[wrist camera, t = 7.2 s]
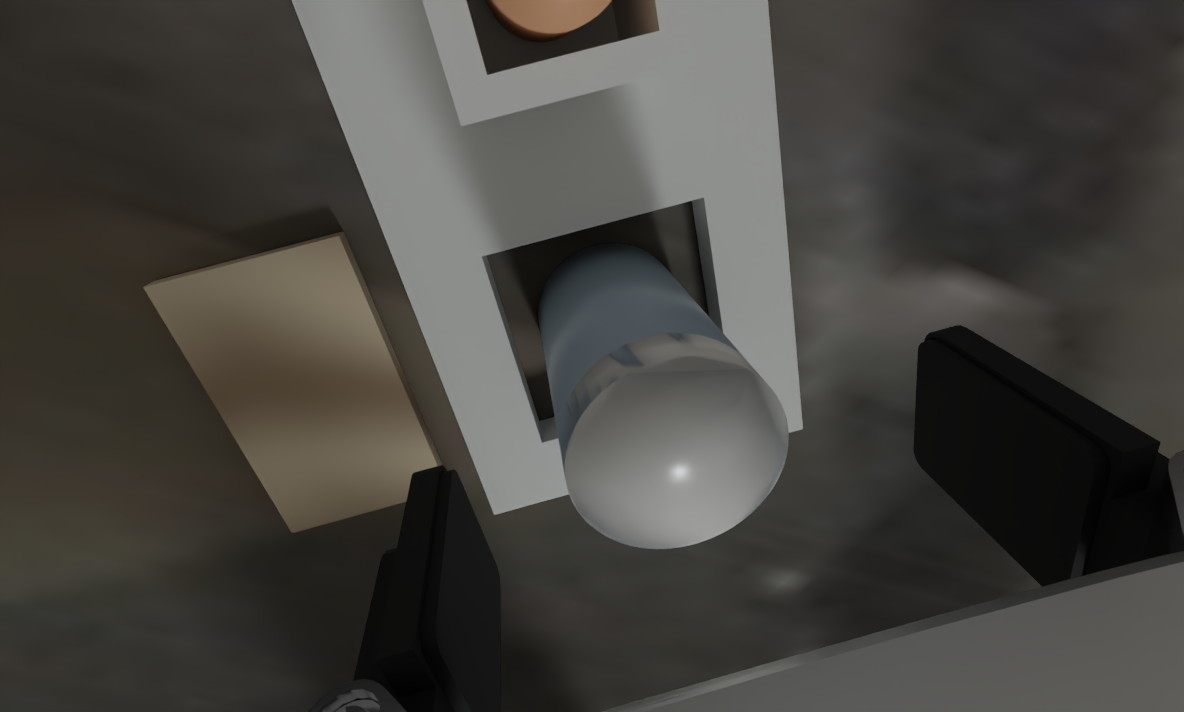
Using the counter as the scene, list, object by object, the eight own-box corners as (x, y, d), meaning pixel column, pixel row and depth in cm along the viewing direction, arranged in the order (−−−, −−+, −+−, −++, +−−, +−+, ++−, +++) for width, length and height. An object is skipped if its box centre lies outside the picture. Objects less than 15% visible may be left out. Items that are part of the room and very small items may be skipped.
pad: (449, 480, 23) (448, 489, 23) (296, 522, 23) (291, 533, 22) (343, 230, 19) (338, 235, 18) (153, 281, 18) (143, 287, 18)
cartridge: (687, 355, 22) (796, 515, 14) (558, 391, 22) (593, 572, 14) (665, 225, 20) (778, 328, 12) (521, 264, 20) (537, 393, 12)
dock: (785, 408, 24) (869, 506, 19) (494, 489, 24) (493, 612, 18) (711, -363, 14) (842, -632, 9) (212, -244, 14) (29, -449, 8)
